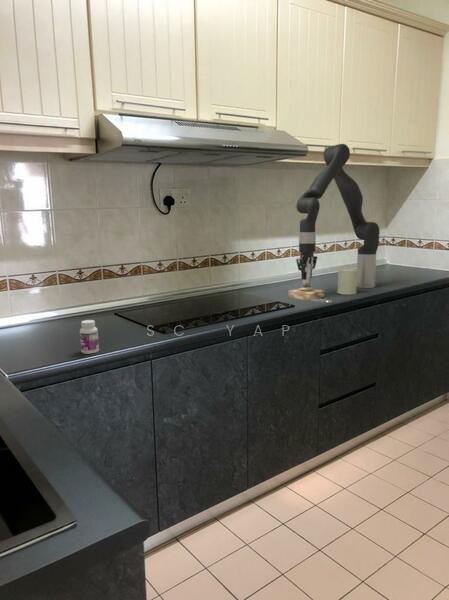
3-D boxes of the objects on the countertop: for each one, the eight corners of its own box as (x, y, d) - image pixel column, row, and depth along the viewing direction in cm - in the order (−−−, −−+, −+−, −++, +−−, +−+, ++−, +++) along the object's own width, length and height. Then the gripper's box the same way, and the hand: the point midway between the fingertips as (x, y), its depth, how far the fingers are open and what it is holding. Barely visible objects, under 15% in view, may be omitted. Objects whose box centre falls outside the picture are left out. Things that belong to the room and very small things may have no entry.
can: (357, 294, 231) (358, 269, 228) (337, 294, 232) (338, 269, 230) (356, 291, 239) (356, 267, 237) (336, 290, 241) (337, 267, 239)
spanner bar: (309, 300, 219) (309, 298, 219) (313, 299, 221) (313, 297, 221) (329, 303, 212) (329, 301, 212) (333, 302, 214) (333, 300, 214)
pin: (305, 285, 229) (306, 262, 227) (311, 286, 227) (312, 263, 224) (301, 286, 227) (301, 263, 224) (307, 287, 224) (307, 264, 222)
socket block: (303, 293, 236) (303, 287, 235) (324, 296, 228) (324, 290, 227) (288, 297, 227) (288, 290, 227) (309, 300, 219) (309, 294, 219)
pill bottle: (77, 351, 150) (75, 321, 148) (92, 347, 154) (90, 318, 152) (87, 355, 146) (85, 324, 144) (102, 351, 150) (100, 320, 148)
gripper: (309, 240, 230) (308, 276, 233) (291, 242, 220) (290, 280, 224) (322, 241, 225) (321, 278, 228) (304, 243, 215) (304, 281, 218)
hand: (306, 278), depth 226 cm, fingers closed on pin, 3 cm apart
